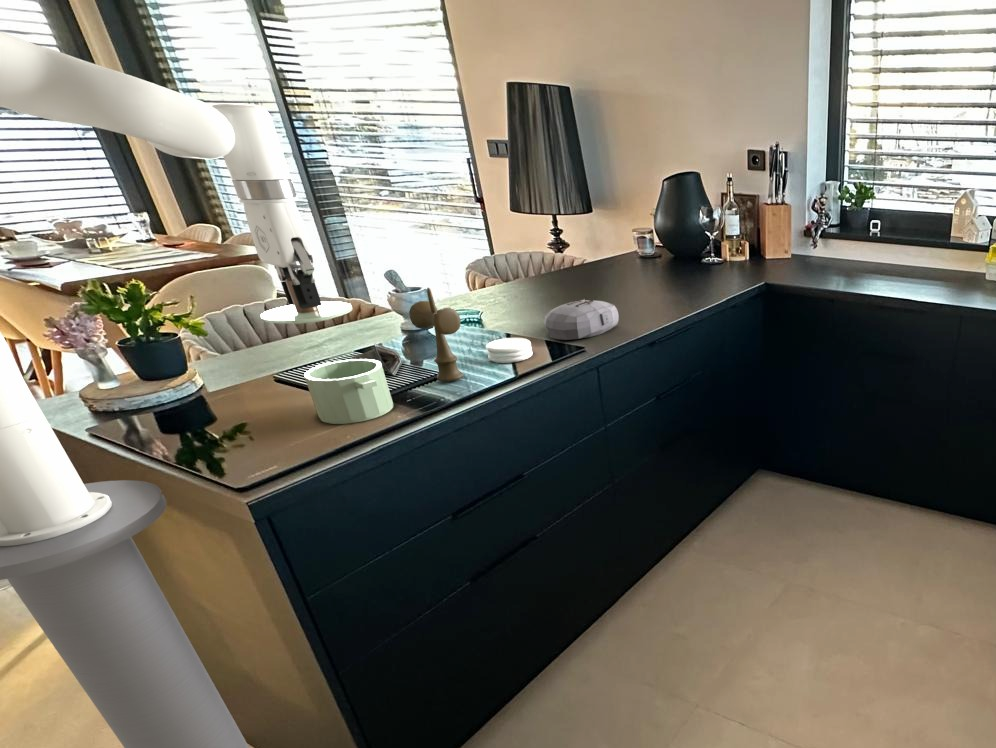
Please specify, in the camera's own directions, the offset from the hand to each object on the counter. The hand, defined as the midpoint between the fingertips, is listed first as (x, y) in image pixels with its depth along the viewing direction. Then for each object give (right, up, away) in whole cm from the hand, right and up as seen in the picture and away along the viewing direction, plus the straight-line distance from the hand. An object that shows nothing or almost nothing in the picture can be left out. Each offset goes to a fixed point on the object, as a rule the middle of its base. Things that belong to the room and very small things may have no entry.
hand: (305, 304), depth 108 cm
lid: (0, -1, +1) cm, 2 cm away
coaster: (+16, -3, +43) cm, 46 cm away
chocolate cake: (-9, -8, +32) cm, 34 cm away
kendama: (+10, -10, +28) cm, 31 cm away
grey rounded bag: (+26, +7, +62) cm, 68 cm away
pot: (+1, -18, +12) cm, 22 cm away
